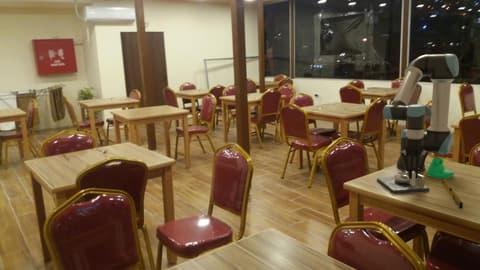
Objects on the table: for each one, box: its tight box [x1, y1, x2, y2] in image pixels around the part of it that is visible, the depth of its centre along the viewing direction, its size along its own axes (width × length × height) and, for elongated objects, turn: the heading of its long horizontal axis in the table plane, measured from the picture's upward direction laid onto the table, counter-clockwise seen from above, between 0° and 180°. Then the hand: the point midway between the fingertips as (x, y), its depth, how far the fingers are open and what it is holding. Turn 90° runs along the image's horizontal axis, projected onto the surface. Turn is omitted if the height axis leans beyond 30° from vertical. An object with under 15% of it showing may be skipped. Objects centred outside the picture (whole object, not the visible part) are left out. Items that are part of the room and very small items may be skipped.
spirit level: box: [441, 178, 464, 209], centre depth 185 cm, size 33×1×3 cm, turn 165°
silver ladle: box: [394, 173, 426, 188], centre depth 195 cm, size 17×8×6 cm, turn 21°
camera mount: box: [426, 156, 455, 180], centre depth 210 cm, size 12×8×10 cm, turn 114°
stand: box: [376, 171, 431, 195], centre depth 199 cm, size 19×20×5 cm
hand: (412, 184), depth 190 cm, fingers closed
